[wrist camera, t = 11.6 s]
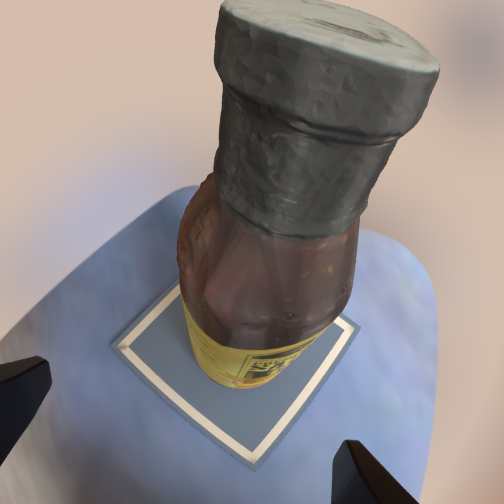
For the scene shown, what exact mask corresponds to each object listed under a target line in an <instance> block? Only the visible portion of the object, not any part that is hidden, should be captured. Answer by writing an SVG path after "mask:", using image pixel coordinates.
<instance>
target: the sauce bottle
mask: <svg viewBox="0 0 504 504" xmlns="http://www.w3.org/2000/svg"><path fill="white" fill-rule="evenodd" d="M214 64H215V68H216V70H217V72H218V74H219V77H220V78H221V81H222V83H223V94H222V110H221V116H220V125H219V147H218V149H217V151H216V154H215V158H214V169H213V171H214V172H212V173H210V174H209V175H208V176H207V178H206V180H205V181H204V182H202V183H201V185H200V188H199V189H198V191H197V192H196V193H195V194H194V196H193V197H192V199H191V200H190V202H189V204H188V206H187V207H186V209H185V212H184V215H183V218H182V220H181V223H180V228H179V233H178V241H177V261H178V266H179V268H180V271H179V284H180V293H181V297H182V302H183V307H184V312H185V317H186V322H187V326H188V331H189V336H190V341H191V345H192V349H193V353H194V356H195V358H196V361H197V363H198V364H199V366H200V368H201V369H202V370H203V371H204V372H205V373H206V374H207V376H208V377H210V379H211V380H213V381H214V382H216V383H218V384H220V385H221V386H225V387H230V388H237V389H250V388H254V387H258V386H261V385H263V384H265V383H267V382H269V381H270V380H271V379H273V378H274V377H275V376H276V375H278V374H279V373H280V372H281V371H282V370H283V369H284V368H285V367H287V366H288V365H289V364H290V363H291V362H292V361H293V360H295V359H296V358H297V357H298V356H299V355H301V353H302V352H303V351H304V350H305V349H306V348H307V347H309V346H310V345H311V344H312V343H313V341H314V340H315V339H316V338H318V337H319V336H320V335H321V334H322V333H323V332H324V331H325V330H326V329H327V328H328V327H329V326H330V325H331V324H332V323H333V322H334V321H335V319H336V318H337V317H338V316H339V315H340V314H341V312H342V311H343V309H344V308H345V306H346V304H347V302H348V300H349V298H350V295H351V291H352V286H353V279H354V272H355V263H356V254H357V244H358V234H359V222H360V215H361V214H362V213H363V211H364V210H365V209H366V207H367V204H368V197H369V194H370V192H371V189H372V188H373V186H374V185H375V183H376V181H377V179H378V177H379V175H380V173H381V171H382V170H383V169H384V167H385V165H386V164H387V161H388V159H389V156H390V155H391V153H392V151H393V149H394V147H395V145H396V143H397V141H398V139H399V138H400V137H402V136H404V135H405V134H406V133H407V132H408V131H410V130H411V129H412V128H413V127H414V126H415V125H416V124H417V123H418V122H419V120H420V119H421V117H422V114H423V112H424V110H425V108H426V107H427V104H428V100H429V97H430V95H431V93H432V90H433V88H434V86H435V84H436V82H437V79H438V77H439V72H440V66H439V63H438V60H437V59H436V57H435V56H434V55H433V54H432V53H431V52H430V51H429V50H428V49H427V48H426V47H425V46H424V45H423V44H421V43H420V42H419V41H417V40H416V39H415V38H413V37H412V36H410V35H409V34H407V33H406V32H404V31H403V30H401V29H399V28H397V27H396V26H394V25H392V24H390V23H388V22H387V21H384V20H382V19H380V18H378V17H375V16H373V15H370V14H368V13H365V12H362V11H360V10H356V9H353V8H350V7H347V6H343V5H339V4H335V3H332V2H328V1H323V0H225V1H224V2H223V3H222V5H221V6H220V10H219V18H218V23H217V27H216V34H215V50H214Z"/></svg>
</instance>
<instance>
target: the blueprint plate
mask: <svg viewBox="0 0 504 504" xmlns="http://www.w3.org/2000/svg"><path fill="white" fill-rule="evenodd" d="M360 329H361V327H360V326H358V325H357V324H356V323H354V322H353V321H352V320H350V319H349V318H348V317H346V316H345V315H344V314H342V313H341V314H340V315H339V316H338V317H337V318H336V319H335V321H334V322H333V323H332V324H331V325H330V326H329V327H328V328H327V329H326V330H325V331H324V332H323V333H322V334H321V335H320V336H319V337H318V338H316V339H315V340H314V341H313V343H312V344H311V345H310V346H309V347H307V348H306V349H305V350H304V351H303V352H302V353H301V355H299V356H298V357H297V358H296V359H295V360H293V361H292V362H291V363H290V364H289V365H288V366H287V367H285V368H284V369H283V370H282V371H281V372H280V373H279V374H278V375H276V376H275V377H274V378H273V379H271V380H270V381H269V382H267V383H265V384H263V385H261V386H258V387H254V388H250V389H237V388H230V387H225V386H221V385H220V384H218V383H216V382H214V381H213V380H211V379H210V377H208V376H207V374H206V373H205V372H204V371H203V370H202V369H201V368H200V366H199V364H198V363H197V361H196V358H195V356H194V353H193V349H192V345H191V341H190V336H189V331H188V326H187V322H186V317H185V312H184V307H183V302H182V297H181V293H180V284H179V277H178V278H177V279H176V280H175V281H174V282H173V283H172V284H171V285H170V286H169V287H168V288H167V289H166V290H165V291H164V292H163V293H162V294H161V295H160V296H159V297H158V298H157V299H156V300H155V301H154V302H153V303H152V304H151V305H150V306H149V307H148V308H147V309H146V310H145V311H144V312H143V313H142V314H141V315H140V316H139V317H138V318H137V319H136V320H135V321H134V322H133V323H132V324H131V325H130V326H129V327H128V328H127V329H126V330H125V331H124V332H123V333H122V334H121V335H120V336H119V337H118V338H117V339H116V340H115V341H114V342H113V343H112V344H111V345H110V346H109V347H110V348H111V349H112V350H113V351H114V352H115V353H116V354H117V355H118V356H119V357H120V358H121V359H122V360H123V362H124V363H125V364H126V365H127V366H128V367H129V368H130V369H131V370H132V371H133V372H134V373H135V374H136V375H137V376H138V377H139V378H140V379H141V380H142V381H143V382H144V383H145V384H146V385H148V386H149V387H150V388H151V389H152V390H153V391H154V392H155V393H156V394H157V395H158V396H159V397H160V398H161V399H163V400H164V401H165V402H166V403H167V404H168V405H169V406H170V407H171V408H173V409H174V410H175V411H176V412H177V413H178V414H179V415H181V416H182V417H183V418H184V419H185V420H186V421H188V422H189V423H190V424H191V425H192V426H194V427H195V428H196V429H197V430H199V431H200V432H201V433H202V434H204V435H205V436H206V437H207V438H209V439H210V440H211V441H213V442H214V443H215V444H216V445H218V446H219V447H220V448H222V449H223V450H224V451H226V452H227V453H228V454H230V455H231V456H233V457H234V458H235V459H237V460H238V461H240V462H241V463H242V464H244V465H245V466H247V467H248V468H250V469H251V470H253V471H254V472H255V471H256V470H257V469H258V468H259V467H260V465H261V464H262V463H263V462H264V461H265V460H266V459H267V457H268V456H269V455H270V454H271V453H272V452H273V450H274V449H275V448H276V447H277V446H278V444H279V443H280V442H281V441H282V439H283V438H284V437H285V436H286V434H287V433H288V432H289V431H290V429H291V428H292V427H293V426H294V424H295V423H296V422H297V420H298V419H299V418H300V417H301V415H302V414H303V413H304V411H305V410H306V409H307V407H308V406H309V405H310V403H311V402H312V401H313V399H314V398H315V396H316V395H317V394H318V392H319V391H320V389H321V388H322V387H323V385H324V384H325V382H326V381H327V379H328V378H329V377H330V375H331V374H332V372H333V371H334V369H335V368H336V366H337V365H338V363H339V362H340V360H341V359H342V357H343V356H344V354H345V353H346V351H347V349H348V348H349V346H350V345H351V343H352V342H353V340H354V338H355V337H356V335H357V334H358V332H359V330H360Z"/></svg>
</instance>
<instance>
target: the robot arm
mask: <svg viewBox="0 0 504 504" xmlns="http://www.w3.org/2000/svg"><path fill="white" fill-rule="evenodd" d="M51 385H52V377H51V372H50V365H49V362H48V361H47V360H46V359H44V358H42V357H40V356H34V357H30V358H26V359H22V360H18V361H13V362H9V363H5V364H1V365H0V466H1V465H2V463H3V462H4V460H5V459H6V457H7V456H8V454H9V453H10V451H11V450H12V448H13V447H14V445H15V444H16V442H17V441H18V440H19V438H20V437H21V435H22V434H23V432H24V431H25V430H26V428H27V427H28V425H29V424H30V422H31V421H32V419H33V418H34V416H35V414H36V412H37V410H38V409H39V407H40V405H41V403H42V402H43V400H44V398H45V396H46V395H47V393H48V391H49V389H50V388H51ZM331 504H419V503H418V502H417V501H416V500H415V499H414V498H413V497H412V496H411V495H410V494H409V493H408V492H407V491H406V490H405V489H404V488H403V487H402V486H401V485H400V484H399V483H398V481H397V480H396V479H395V478H394V477H393V476H392V475H391V474H390V473H389V472H388V471H387V470H386V469H385V468H384V467H383V466H382V465H381V464H380V463H379V461H378V460H377V459H376V458H375V457H374V456H373V455H372V454H371V453H370V452H369V451H368V450H367V449H366V448H365V446H364V445H363V444H362V443H361V442H360V441H358V440H345V441H343V443H342V445H341V446H340V448H339V450H338V451H337V453H336V455H335V456H334V459H333V468H332V494H331Z"/></svg>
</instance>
